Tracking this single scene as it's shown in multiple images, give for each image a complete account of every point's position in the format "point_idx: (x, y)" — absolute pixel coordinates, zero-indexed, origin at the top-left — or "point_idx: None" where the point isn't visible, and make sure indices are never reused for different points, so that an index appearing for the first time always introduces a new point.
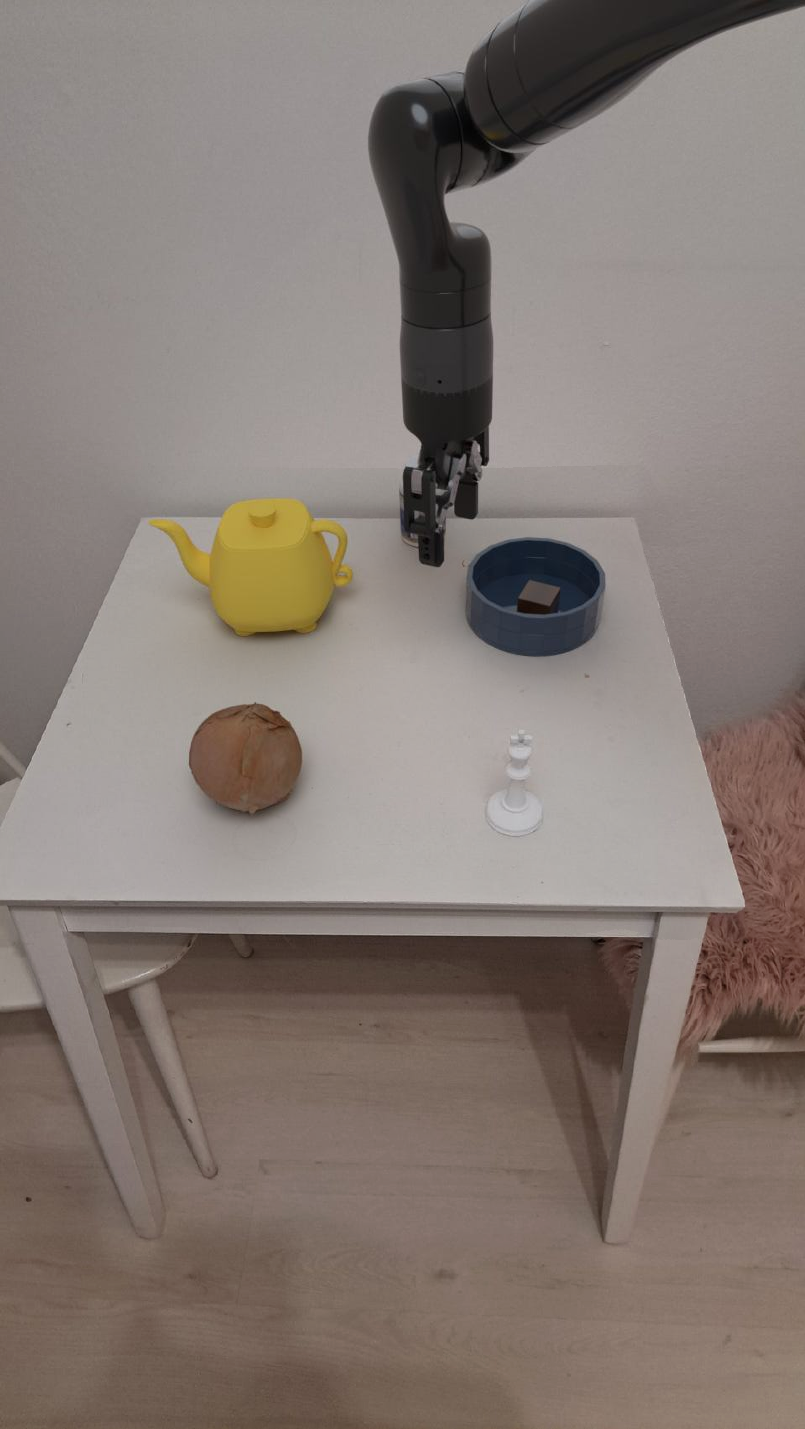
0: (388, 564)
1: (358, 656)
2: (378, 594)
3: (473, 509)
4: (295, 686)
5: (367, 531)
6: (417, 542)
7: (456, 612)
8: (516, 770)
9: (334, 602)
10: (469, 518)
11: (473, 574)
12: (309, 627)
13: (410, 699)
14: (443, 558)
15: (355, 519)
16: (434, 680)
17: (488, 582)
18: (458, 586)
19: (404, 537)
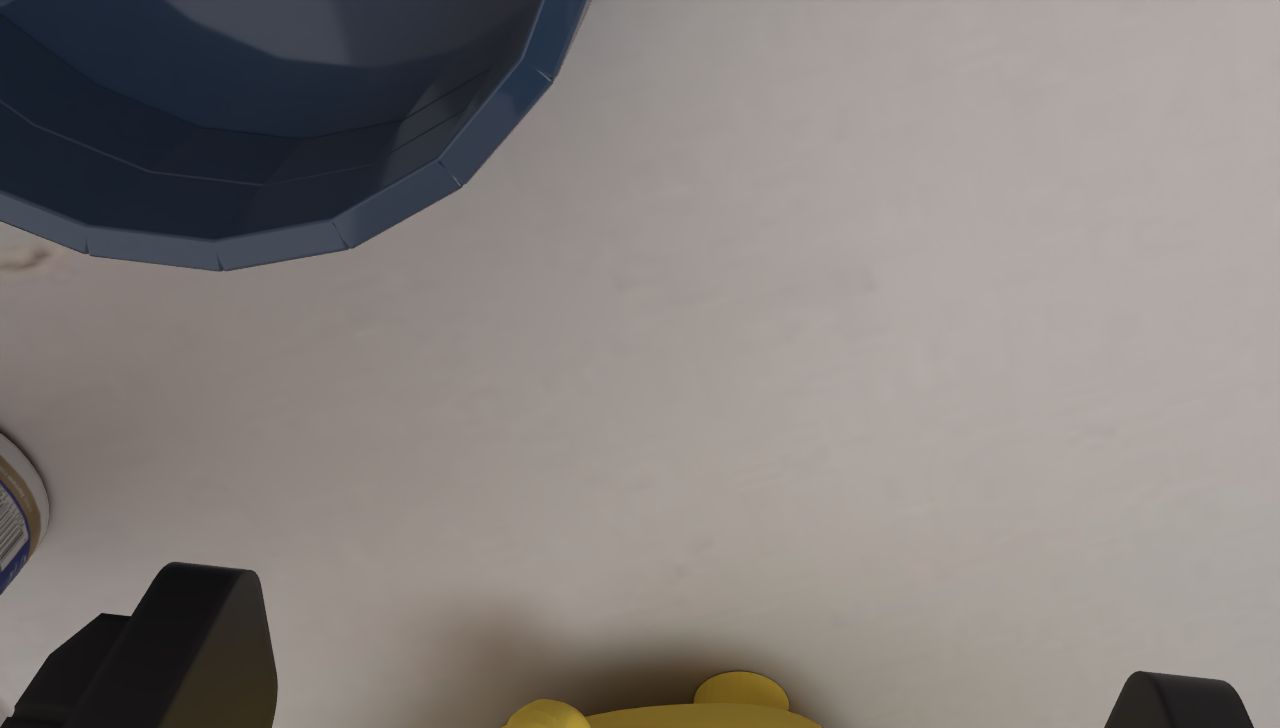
0: (224, 549)
1: (880, 495)
2: (441, 532)
3: (204, 664)
4: (1116, 641)
5: None
6: (31, 499)
7: None
8: None
9: (563, 655)
10: (256, 602)
11: (248, 214)
12: (765, 695)
13: (1153, 214)
14: (1190, 717)
15: None
16: (987, 144)
17: (122, 98)
18: None
19: (31, 553)
